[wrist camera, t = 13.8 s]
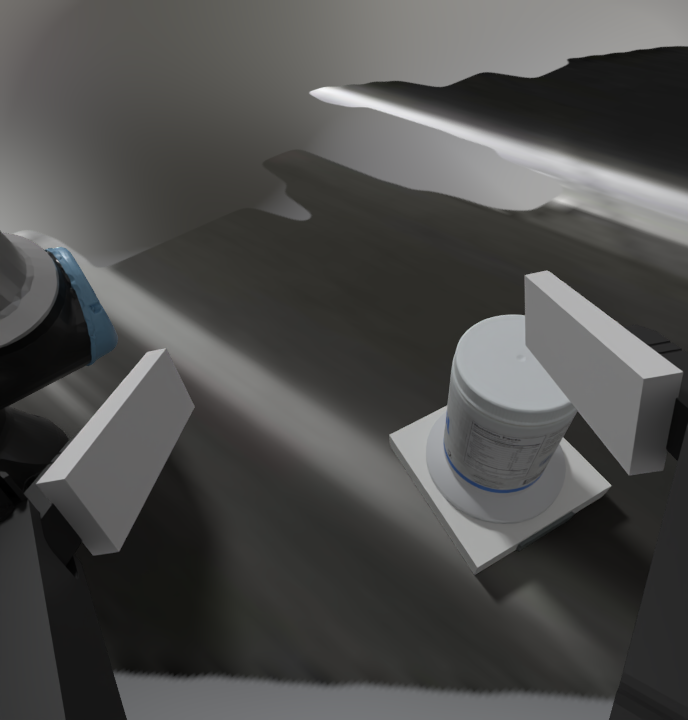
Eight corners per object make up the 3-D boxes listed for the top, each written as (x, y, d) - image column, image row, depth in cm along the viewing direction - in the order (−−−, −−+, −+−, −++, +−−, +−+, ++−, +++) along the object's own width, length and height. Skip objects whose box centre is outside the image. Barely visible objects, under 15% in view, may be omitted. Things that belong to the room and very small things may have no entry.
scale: (390, 446, 48) (388, 430, 45) (499, 389, 51) (504, 371, 48) (476, 578, 38) (481, 567, 35) (605, 499, 41) (618, 483, 38)
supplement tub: (448, 405, 46) (460, 304, 35) (543, 421, 43) (589, 317, 32) (435, 489, 40) (445, 399, 29) (544, 513, 38) (600, 424, 26)
